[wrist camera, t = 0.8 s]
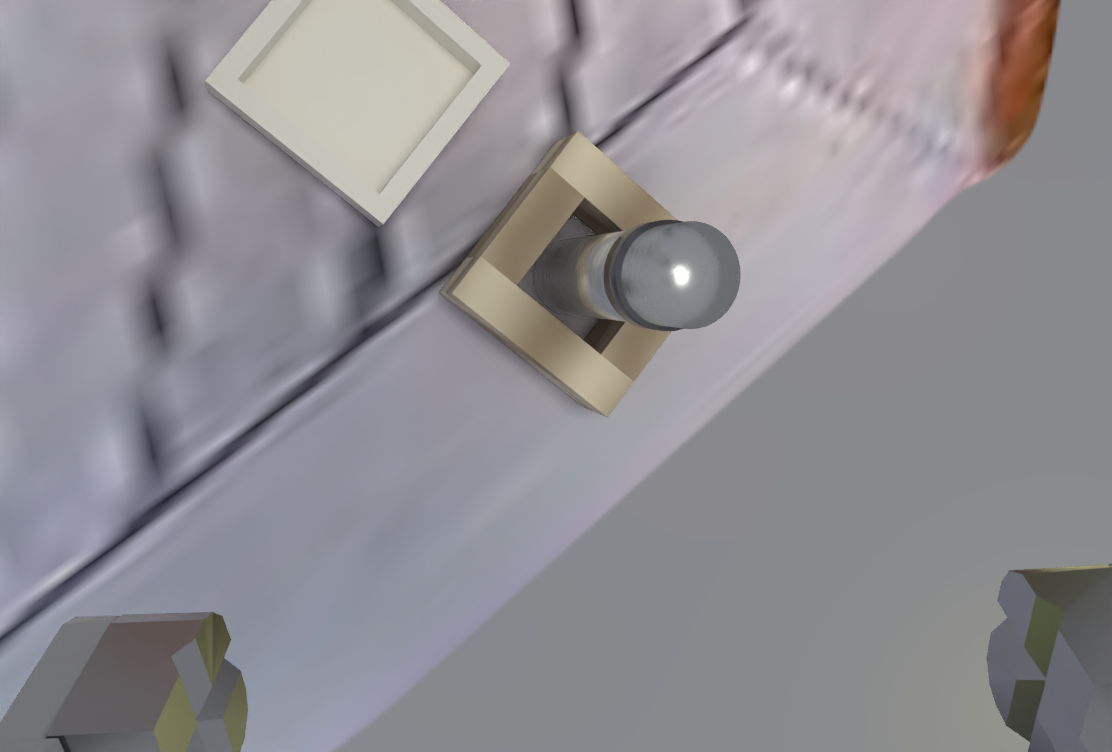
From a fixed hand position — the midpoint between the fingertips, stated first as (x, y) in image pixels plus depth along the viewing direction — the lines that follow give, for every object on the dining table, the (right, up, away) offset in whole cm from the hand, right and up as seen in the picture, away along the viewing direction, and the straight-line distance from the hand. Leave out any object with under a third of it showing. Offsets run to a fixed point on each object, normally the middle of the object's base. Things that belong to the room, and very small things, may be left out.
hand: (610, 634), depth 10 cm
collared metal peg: (0, +8, +41) cm, 42 cm away
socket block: (0, +8, +41) cm, 42 cm away
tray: (-10, +17, +37) cm, 42 cm away
